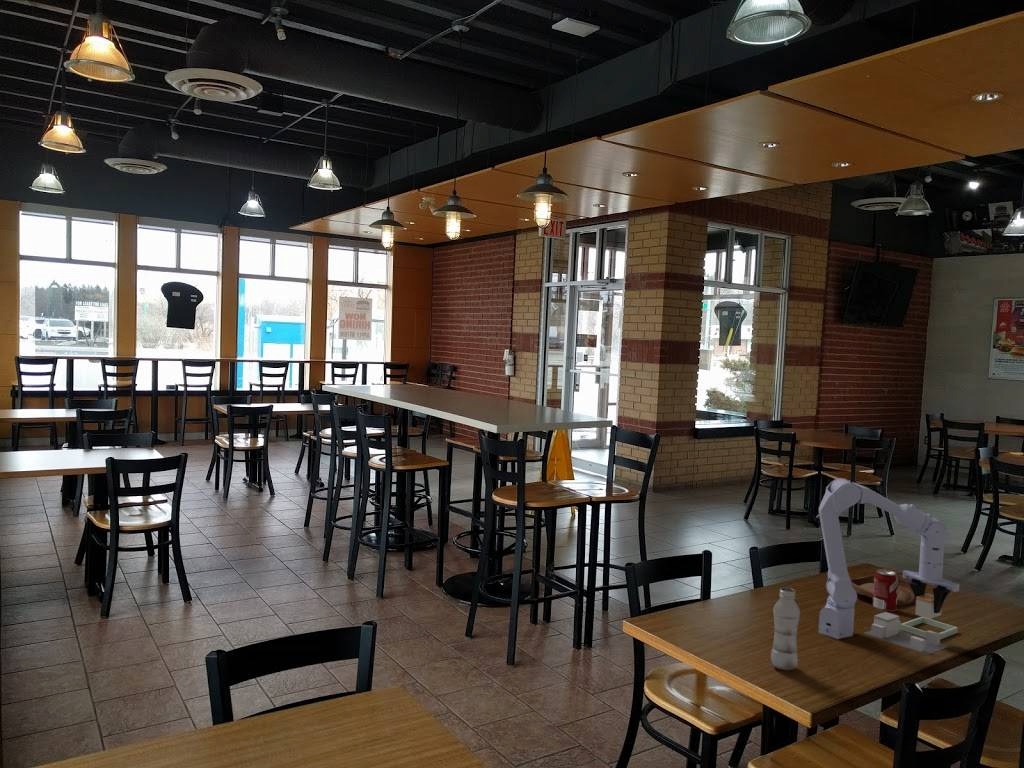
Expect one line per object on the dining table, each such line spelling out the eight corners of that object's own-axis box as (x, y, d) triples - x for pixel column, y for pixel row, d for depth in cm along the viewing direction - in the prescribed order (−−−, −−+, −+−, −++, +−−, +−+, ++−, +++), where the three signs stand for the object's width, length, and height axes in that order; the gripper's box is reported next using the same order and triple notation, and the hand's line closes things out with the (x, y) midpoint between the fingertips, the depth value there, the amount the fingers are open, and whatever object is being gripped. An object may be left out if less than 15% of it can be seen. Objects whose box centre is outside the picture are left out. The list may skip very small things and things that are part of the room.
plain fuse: (886, 637, 212) (887, 619, 211) (873, 632, 215) (874, 615, 215) (898, 633, 215) (899, 616, 215) (884, 628, 218) (885, 611, 218)
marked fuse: (930, 618, 207) (930, 600, 207) (915, 614, 210) (916, 596, 210) (941, 615, 210) (941, 597, 210) (926, 610, 214) (927, 593, 214)
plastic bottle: (790, 662, 194) (794, 585, 193) (802, 674, 187) (805, 594, 186) (766, 662, 194) (769, 585, 193) (776, 673, 187) (780, 594, 186)
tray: (936, 643, 210) (936, 635, 210) (899, 631, 219) (900, 624, 219) (957, 635, 217) (957, 627, 217) (921, 624, 226) (921, 616, 226)
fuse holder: (927, 657, 200) (928, 643, 200) (863, 635, 215) (863, 622, 215) (948, 649, 206) (949, 635, 206) (884, 628, 221) (884, 615, 221)
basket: (898, 612, 236) (899, 596, 236) (835, 595, 251) (835, 580, 251) (925, 598, 251) (926, 583, 251) (864, 583, 266) (865, 569, 266)
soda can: (883, 614, 234) (885, 575, 233) (867, 606, 240) (869, 569, 240) (901, 612, 236) (903, 574, 235) (885, 605, 242) (887, 568, 241)
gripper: (965, 566, 206) (963, 615, 207) (912, 553, 218) (910, 600, 219) (952, 570, 202) (950, 620, 203) (899, 556, 214) (897, 604, 215)
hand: (928, 610), depth 210 cm, fingers closed on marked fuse, 4 cm apart
